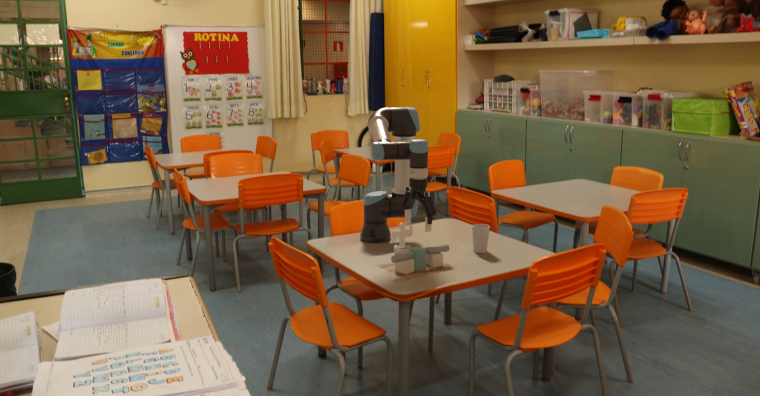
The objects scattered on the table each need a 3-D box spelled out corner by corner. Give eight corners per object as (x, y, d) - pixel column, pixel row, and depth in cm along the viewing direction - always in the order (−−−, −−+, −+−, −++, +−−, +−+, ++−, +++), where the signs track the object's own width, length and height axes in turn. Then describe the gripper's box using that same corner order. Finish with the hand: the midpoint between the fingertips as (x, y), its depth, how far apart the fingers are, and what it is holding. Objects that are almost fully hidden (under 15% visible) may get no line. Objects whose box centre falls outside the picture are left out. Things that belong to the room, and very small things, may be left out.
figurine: (392, 252, 285) (392, 220, 282) (412, 253, 285) (413, 221, 281) (391, 257, 278) (391, 224, 275) (412, 257, 277) (412, 225, 274)
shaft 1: (399, 276, 249) (399, 257, 247) (388, 273, 253) (388, 254, 252) (415, 270, 256) (415, 252, 254) (404, 267, 260) (405, 249, 259)
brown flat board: (375, 267, 264) (375, 265, 264) (423, 257, 278) (423, 254, 278) (407, 281, 246) (407, 279, 246) (456, 269, 261) (456, 267, 260)
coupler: (408, 266, 262) (408, 248, 260) (418, 264, 265) (418, 246, 263) (416, 269, 258) (416, 251, 256) (426, 267, 261) (426, 249, 259)
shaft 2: (443, 260, 270) (444, 242, 268) (450, 264, 265) (451, 246, 263) (423, 263, 266) (423, 245, 264) (430, 267, 260) (430, 249, 259)
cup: (468, 251, 287) (468, 226, 284) (477, 247, 293) (478, 223, 290) (482, 254, 282) (483, 229, 279) (492, 251, 287) (493, 225, 285)
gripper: (393, 174, 261) (392, 222, 266) (430, 183, 241) (429, 236, 246) (407, 172, 266) (406, 220, 270) (445, 181, 246) (444, 233, 250)
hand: (417, 228), depth 258 cm, fingers open, 13 cm apart
